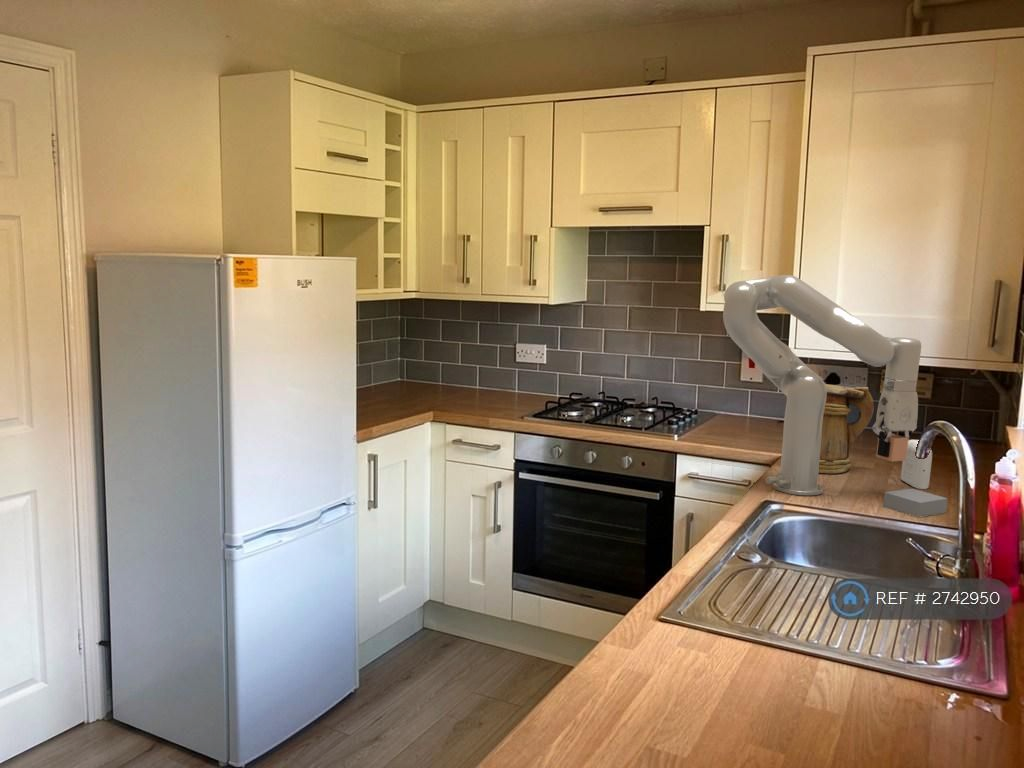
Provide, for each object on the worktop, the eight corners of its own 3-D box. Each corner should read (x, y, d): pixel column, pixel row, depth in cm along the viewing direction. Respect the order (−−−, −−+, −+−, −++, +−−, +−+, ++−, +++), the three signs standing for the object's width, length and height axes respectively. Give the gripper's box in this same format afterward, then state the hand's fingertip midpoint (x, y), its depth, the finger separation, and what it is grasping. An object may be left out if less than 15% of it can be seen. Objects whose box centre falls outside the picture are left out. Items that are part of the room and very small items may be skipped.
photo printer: (931, 489, 228) (935, 445, 227) (915, 489, 228) (919, 444, 227) (913, 480, 238) (917, 437, 237) (898, 479, 238) (902, 436, 237)
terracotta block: (891, 461, 216) (894, 438, 215) (875, 456, 220) (878, 434, 219) (905, 460, 218) (908, 437, 217) (889, 456, 222) (892, 433, 221)
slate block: (918, 519, 202) (920, 502, 201) (883, 507, 211) (884, 492, 210) (945, 514, 207) (947, 498, 206) (910, 503, 215) (911, 488, 215)
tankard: (782, 457, 262) (788, 378, 258) (864, 464, 255) (871, 383, 252) (784, 471, 245) (790, 385, 241) (871, 479, 238) (879, 391, 235)
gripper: (887, 388, 209) (878, 460, 212) (935, 388, 216) (926, 457, 219) (863, 384, 216) (855, 453, 219) (911, 383, 223) (902, 450, 226)
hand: (891, 454), depth 219 cm, fingers closed on terracotta block, 5 cm apart
